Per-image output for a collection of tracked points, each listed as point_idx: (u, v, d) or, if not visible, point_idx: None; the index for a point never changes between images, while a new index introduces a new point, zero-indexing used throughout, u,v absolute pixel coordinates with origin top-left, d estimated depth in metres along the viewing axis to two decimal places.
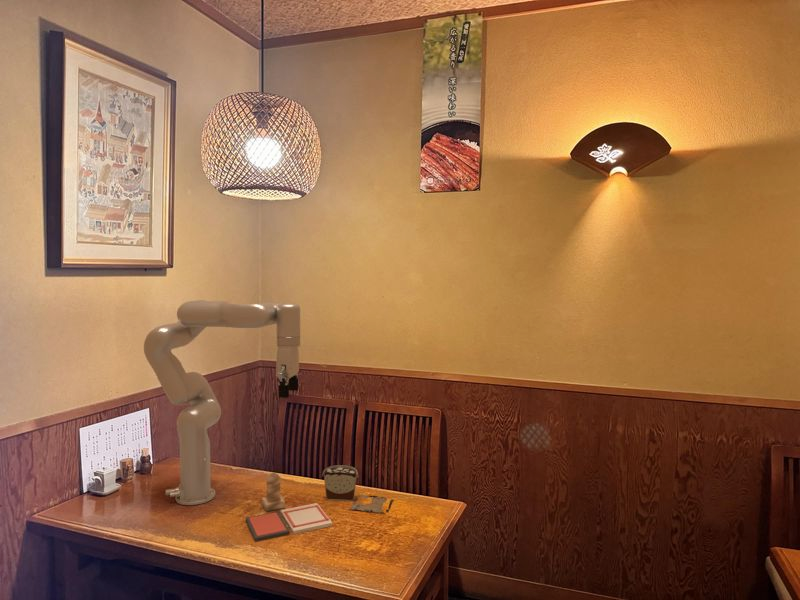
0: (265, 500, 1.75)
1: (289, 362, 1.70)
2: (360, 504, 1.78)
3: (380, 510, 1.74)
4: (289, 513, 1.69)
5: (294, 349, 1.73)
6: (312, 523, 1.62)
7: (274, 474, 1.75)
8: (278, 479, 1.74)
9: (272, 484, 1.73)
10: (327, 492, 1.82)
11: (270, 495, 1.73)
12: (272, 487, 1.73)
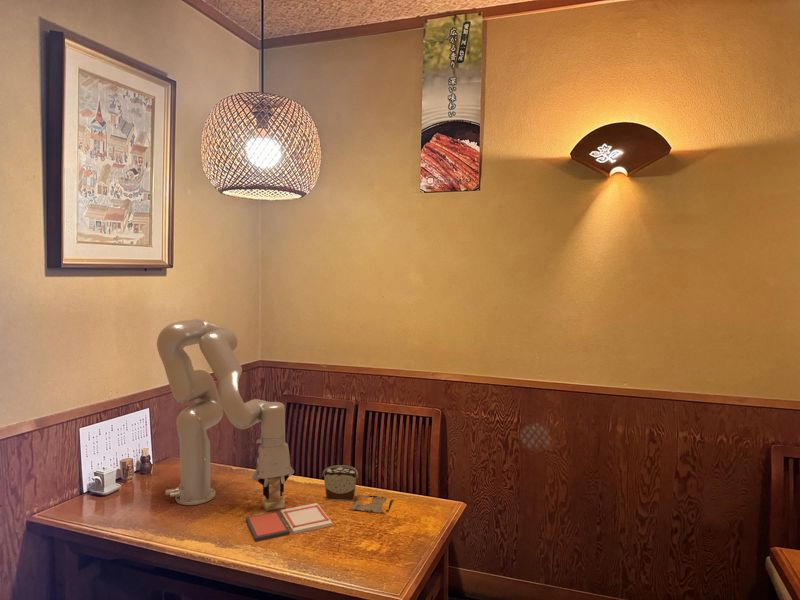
0: (265, 500, 1.75)
1: None
2: (360, 504, 1.78)
3: (380, 510, 1.74)
4: (289, 513, 1.69)
5: None
6: (312, 523, 1.62)
7: None
8: (278, 479, 1.74)
9: (272, 484, 1.73)
10: (327, 492, 1.82)
11: (270, 495, 1.73)
12: (272, 487, 1.73)
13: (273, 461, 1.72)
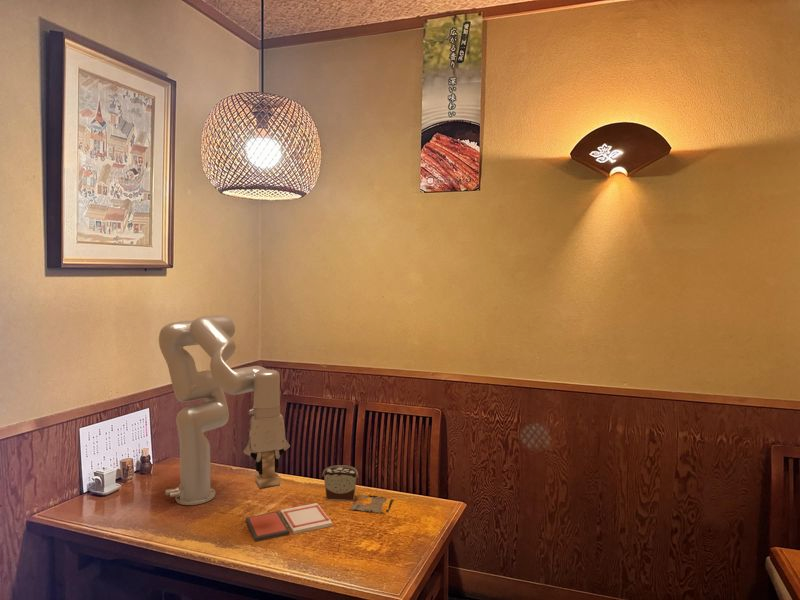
0: (258, 476, 1.60)
1: None
2: (360, 504, 1.78)
3: (380, 510, 1.74)
4: (289, 513, 1.69)
5: None
6: (312, 523, 1.62)
7: None
8: (272, 453, 1.60)
9: (265, 458, 1.59)
10: (327, 492, 1.82)
11: (264, 471, 1.59)
12: (266, 462, 1.59)
13: (267, 433, 1.57)
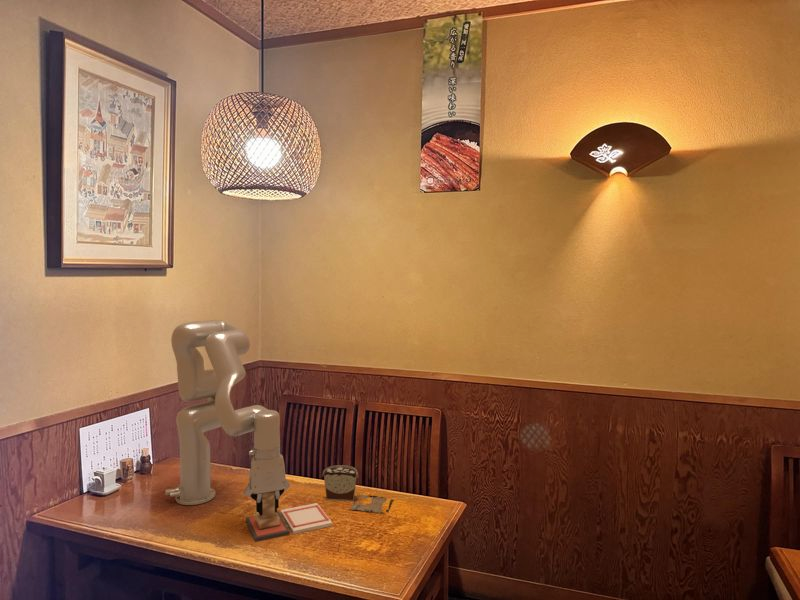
0: (258, 516, 1.61)
1: None
2: (360, 504, 1.78)
3: (380, 510, 1.74)
4: (289, 513, 1.69)
5: None
6: (312, 523, 1.62)
7: None
8: (272, 494, 1.60)
9: (266, 499, 1.59)
10: (327, 492, 1.82)
11: (264, 511, 1.59)
12: (266, 502, 1.59)
13: (267, 474, 1.58)
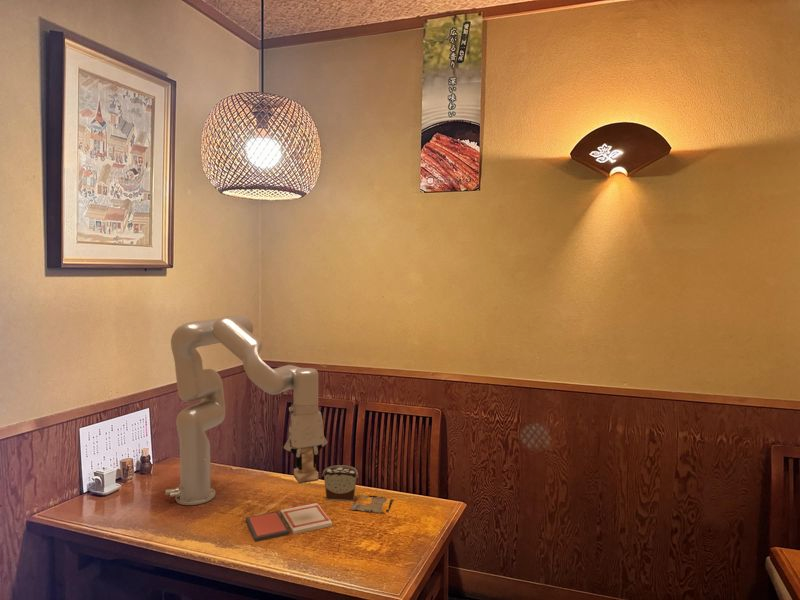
0: (297, 471, 1.66)
1: None
2: (360, 504, 1.78)
3: (380, 510, 1.74)
4: (289, 513, 1.69)
5: None
6: (312, 523, 1.62)
7: None
8: (311, 449, 1.65)
9: (305, 454, 1.64)
10: (327, 492, 1.82)
11: (303, 466, 1.64)
12: (305, 457, 1.64)
13: (306, 430, 1.63)
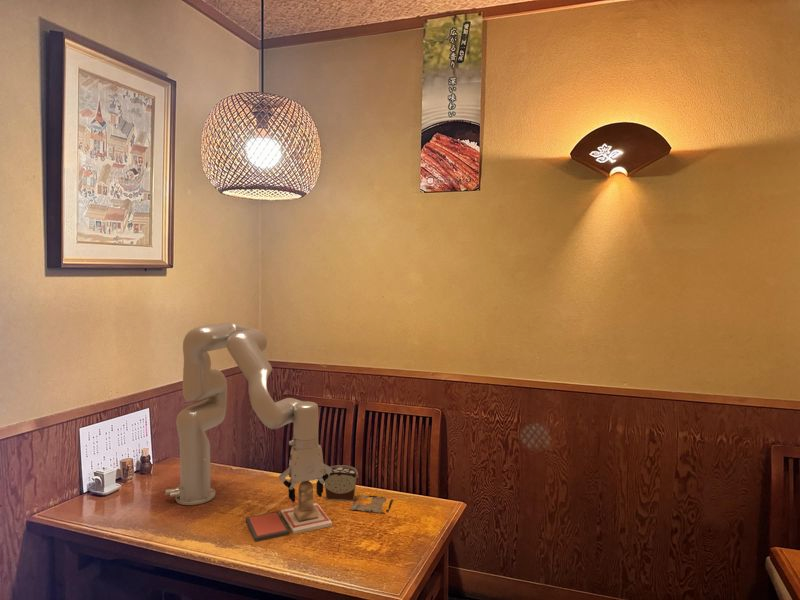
0: (297, 509, 1.66)
1: None
2: (360, 504, 1.78)
3: (380, 510, 1.74)
4: (289, 513, 1.69)
5: None
6: (312, 523, 1.62)
7: (307, 482, 1.66)
8: (311, 487, 1.66)
9: (305, 492, 1.65)
10: (327, 492, 1.82)
11: (303, 504, 1.65)
12: (305, 495, 1.65)
13: (306, 464, 1.63)
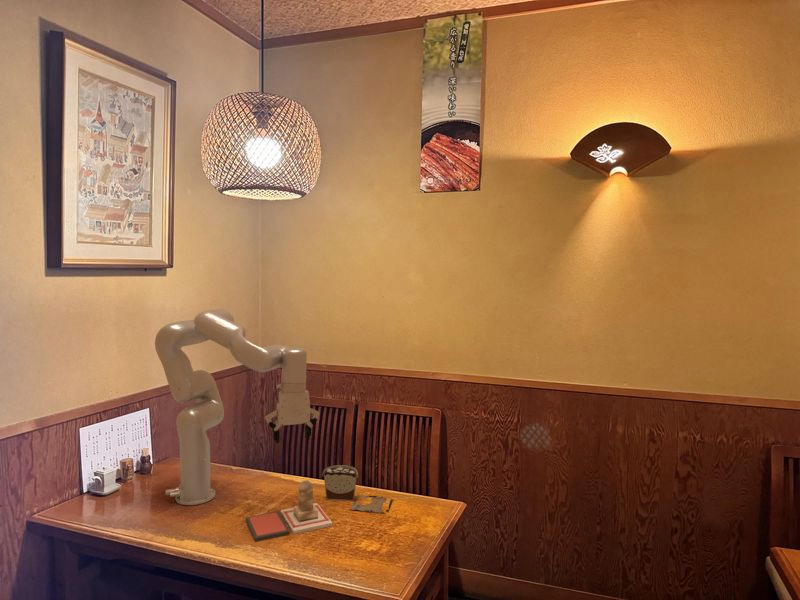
0: (297, 509, 1.66)
1: None
2: (360, 504, 1.78)
3: (380, 510, 1.74)
4: (289, 513, 1.69)
5: None
6: (312, 523, 1.62)
7: (307, 482, 1.66)
8: (311, 487, 1.66)
9: (305, 492, 1.65)
10: (327, 492, 1.82)
11: (303, 504, 1.65)
12: (305, 495, 1.65)
13: (293, 407, 1.67)
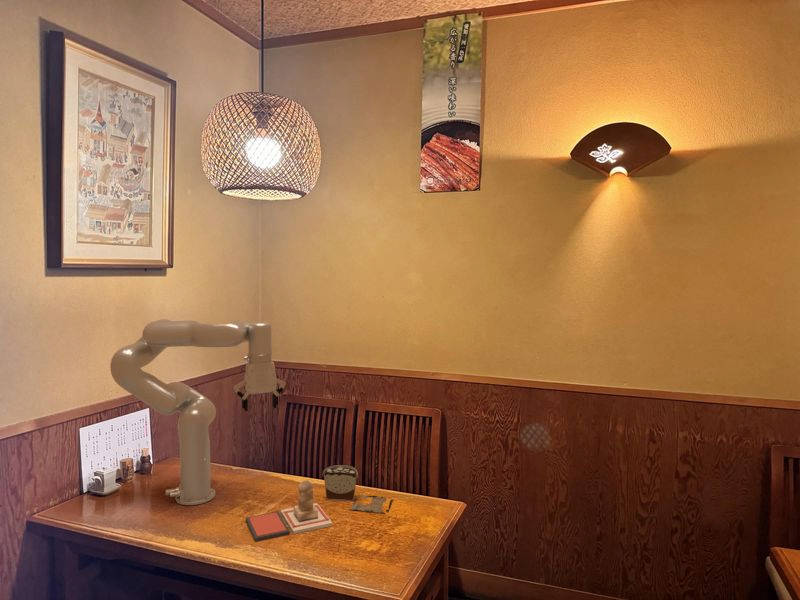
0: (297, 509, 1.66)
1: None
2: (360, 504, 1.78)
3: (380, 510, 1.74)
4: (289, 513, 1.69)
5: None
6: (312, 523, 1.62)
7: (307, 482, 1.66)
8: (311, 487, 1.66)
9: (305, 492, 1.65)
10: (327, 492, 1.82)
11: (303, 504, 1.65)
12: (305, 495, 1.65)
13: (260, 377, 1.78)
